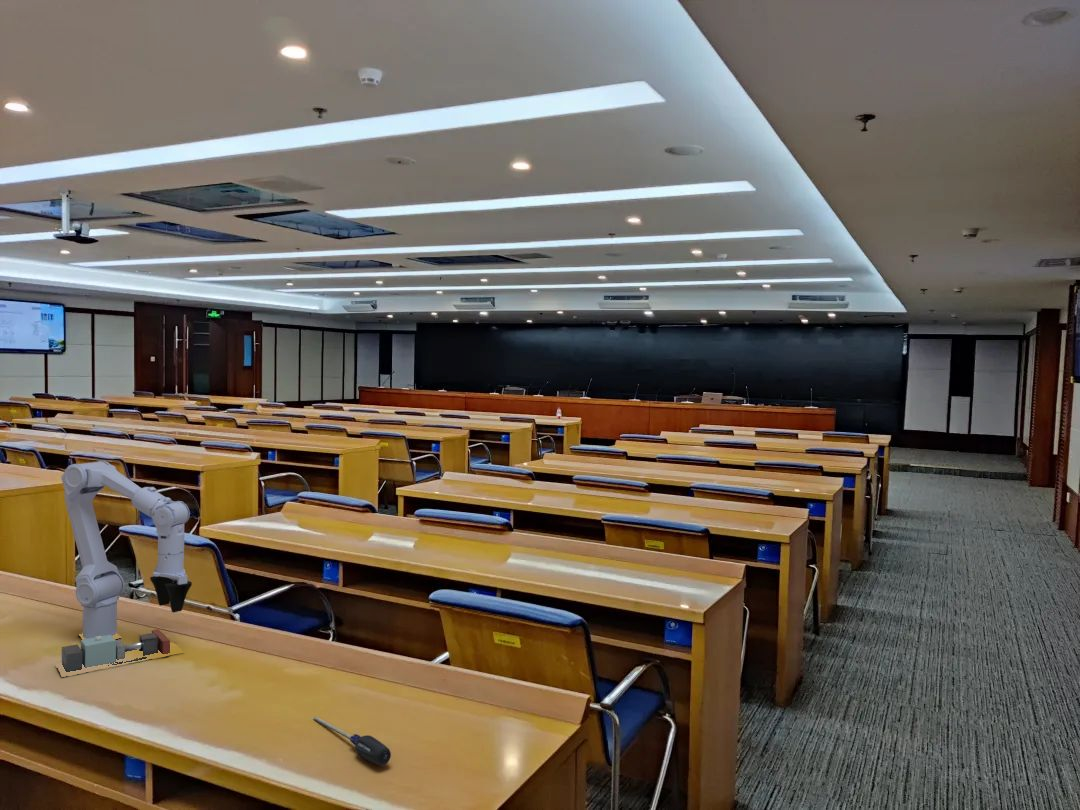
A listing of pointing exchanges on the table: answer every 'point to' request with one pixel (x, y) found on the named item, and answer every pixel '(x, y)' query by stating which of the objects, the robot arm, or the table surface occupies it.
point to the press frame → (74, 662)
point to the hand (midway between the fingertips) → (170, 608)
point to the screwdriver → (364, 745)
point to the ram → (162, 645)
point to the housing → (98, 651)
